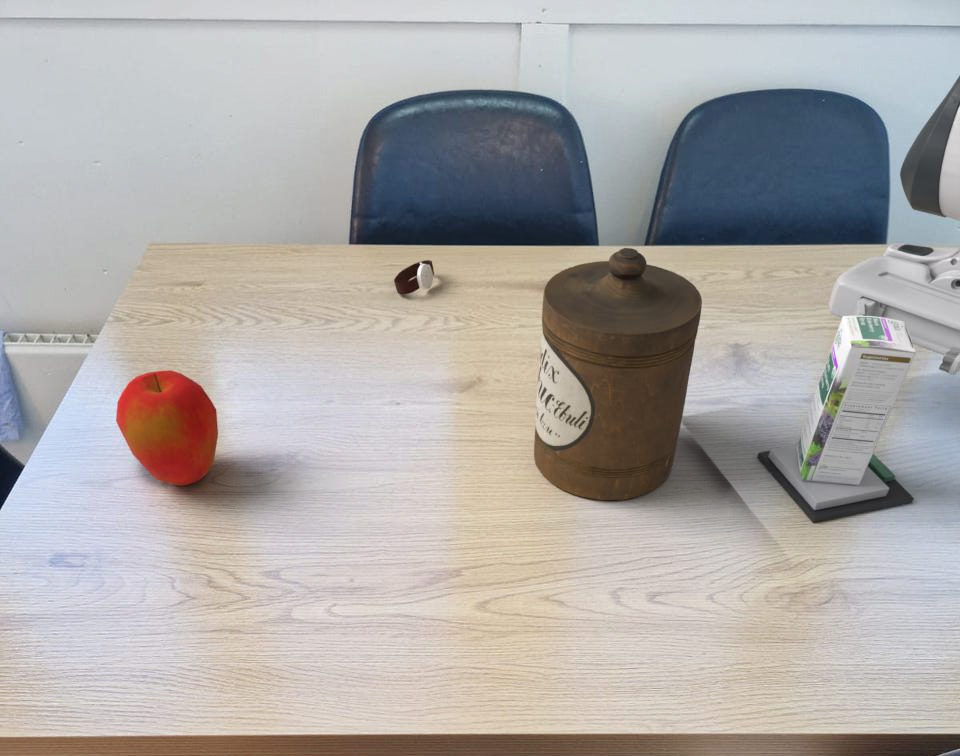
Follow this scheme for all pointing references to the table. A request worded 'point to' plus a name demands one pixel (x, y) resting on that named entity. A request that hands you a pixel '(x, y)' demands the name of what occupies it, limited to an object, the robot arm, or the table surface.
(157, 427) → the apple
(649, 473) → the wooden container
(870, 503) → the scale
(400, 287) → the watch
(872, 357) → the syrup box
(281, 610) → the table surface
